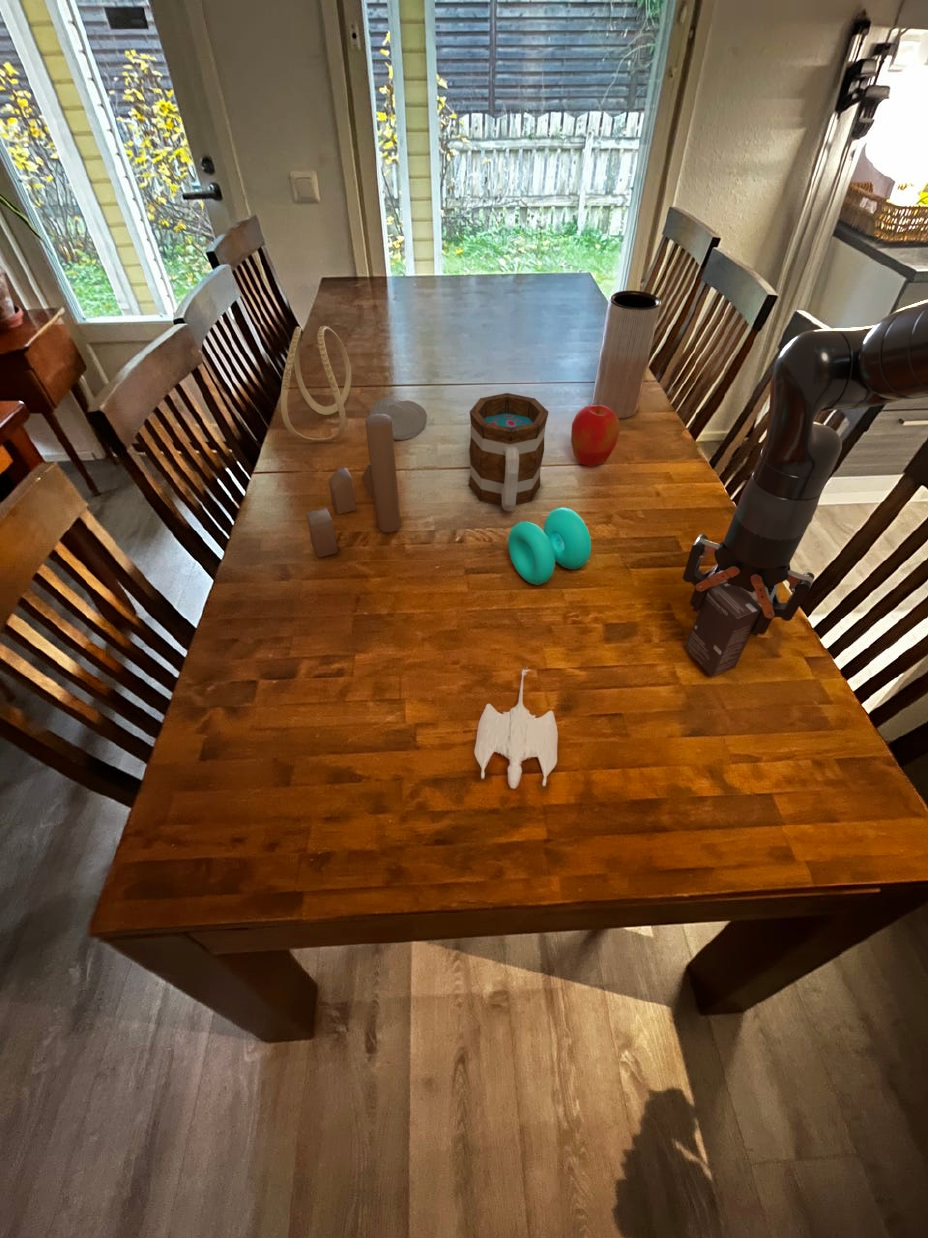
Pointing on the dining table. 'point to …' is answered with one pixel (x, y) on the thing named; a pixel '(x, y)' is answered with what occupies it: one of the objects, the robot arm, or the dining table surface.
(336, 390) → the beige looped band
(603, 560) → the dining table surface
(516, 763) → the white dragon
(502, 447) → the mug
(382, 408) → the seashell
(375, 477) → the wooden blocks
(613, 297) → the planter
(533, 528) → the turquoise yo-yo
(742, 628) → the box
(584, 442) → the apple
